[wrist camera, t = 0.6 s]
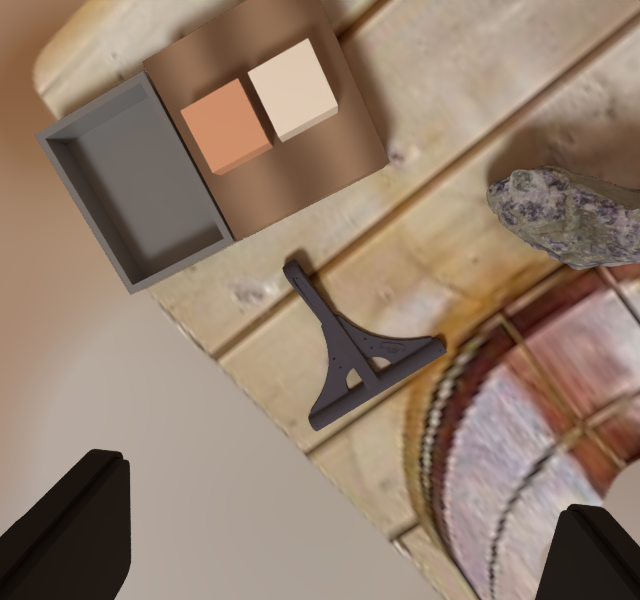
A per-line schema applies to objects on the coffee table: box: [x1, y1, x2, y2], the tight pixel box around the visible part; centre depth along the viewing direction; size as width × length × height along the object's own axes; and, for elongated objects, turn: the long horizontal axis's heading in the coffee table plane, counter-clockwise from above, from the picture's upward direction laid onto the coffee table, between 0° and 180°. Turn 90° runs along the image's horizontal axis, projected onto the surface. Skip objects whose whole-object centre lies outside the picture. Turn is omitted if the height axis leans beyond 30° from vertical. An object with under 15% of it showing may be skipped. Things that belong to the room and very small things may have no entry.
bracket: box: [283, 259, 447, 431], centre depth 35 cm, size 14×15×3 cm
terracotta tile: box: [181, 78, 273, 175], centre depth 28 cm, size 4×4×2 cm
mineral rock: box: [486, 165, 640, 270], centre depth 28 cm, size 13×11×10 cm
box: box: [35, 71, 243, 294], centre depth 32 cm, size 10×14×3 cm
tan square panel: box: [143, 0, 390, 240], centre depth 30 cm, size 13×14×4 cm
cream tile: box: [248, 38, 338, 142], centre depth 27 cm, size 4×4×2 cm
